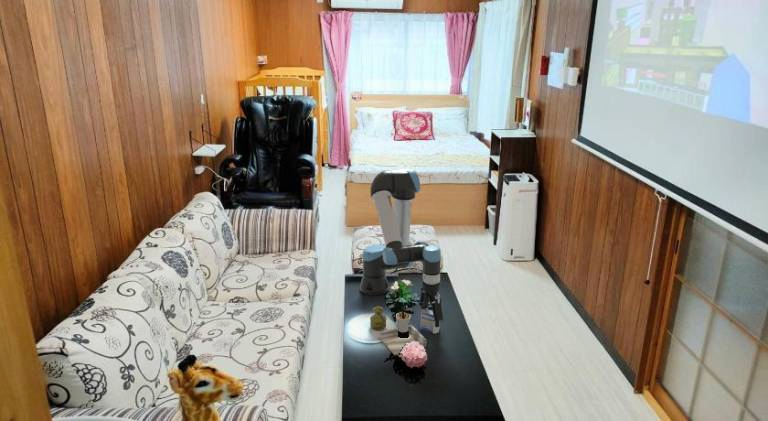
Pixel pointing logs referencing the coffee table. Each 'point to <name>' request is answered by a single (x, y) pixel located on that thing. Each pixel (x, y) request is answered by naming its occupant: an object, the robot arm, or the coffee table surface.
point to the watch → (432, 302)
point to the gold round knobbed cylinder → (378, 319)
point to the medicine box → (427, 320)
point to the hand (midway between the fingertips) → (430, 327)
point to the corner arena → (400, 339)
